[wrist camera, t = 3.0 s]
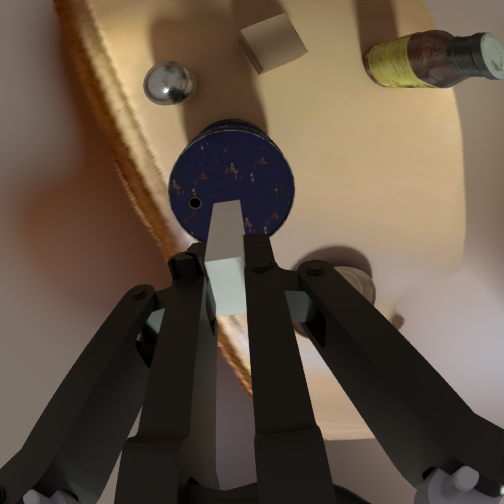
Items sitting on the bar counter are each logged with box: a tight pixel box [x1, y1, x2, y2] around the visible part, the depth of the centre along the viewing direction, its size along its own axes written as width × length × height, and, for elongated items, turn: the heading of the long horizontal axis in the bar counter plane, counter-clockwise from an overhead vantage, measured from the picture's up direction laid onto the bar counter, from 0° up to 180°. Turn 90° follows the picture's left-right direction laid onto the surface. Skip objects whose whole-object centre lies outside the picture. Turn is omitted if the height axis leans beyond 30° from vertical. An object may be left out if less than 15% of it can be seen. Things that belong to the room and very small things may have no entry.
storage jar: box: [168, 119, 295, 242], centre depth 28 cm, size 10×10×15 cm
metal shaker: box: [143, 61, 198, 105], centre depth 26 cm, size 5×5×9 cm
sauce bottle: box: [364, 30, 504, 88], centre depth 21 cm, size 7×6×20 cm
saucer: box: [292, 266, 376, 339], centre depth 45 cm, size 15×15×3 cm
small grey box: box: [239, 13, 308, 75], centre depth 26 cm, size 5×5×6 cm
